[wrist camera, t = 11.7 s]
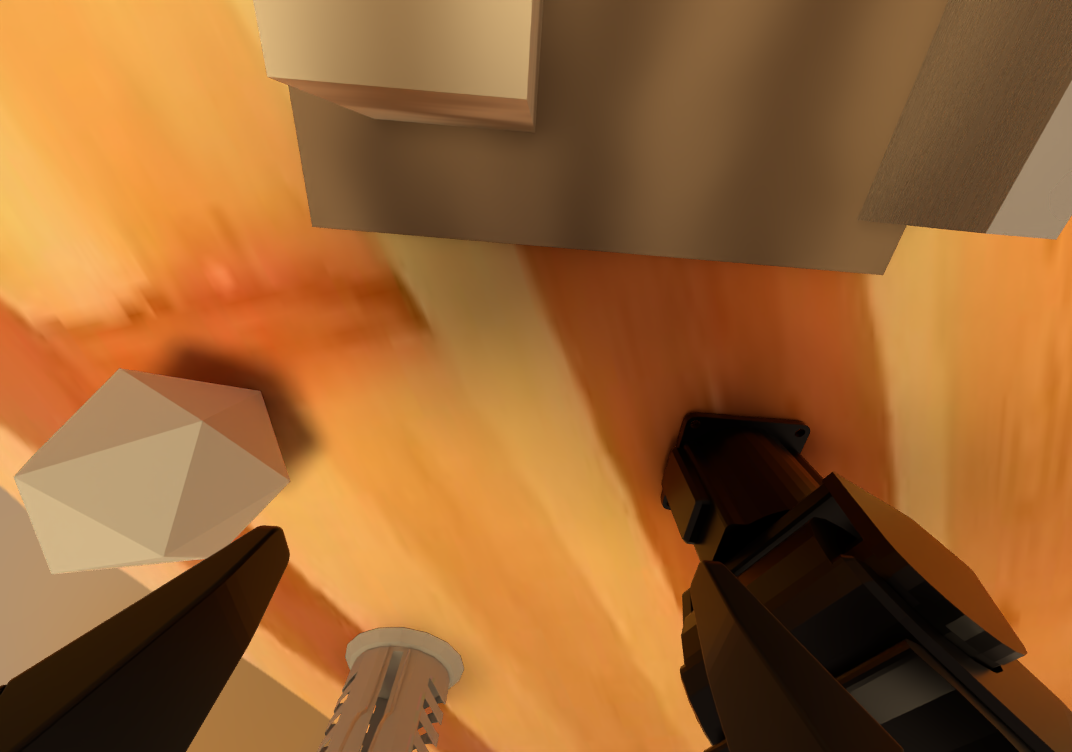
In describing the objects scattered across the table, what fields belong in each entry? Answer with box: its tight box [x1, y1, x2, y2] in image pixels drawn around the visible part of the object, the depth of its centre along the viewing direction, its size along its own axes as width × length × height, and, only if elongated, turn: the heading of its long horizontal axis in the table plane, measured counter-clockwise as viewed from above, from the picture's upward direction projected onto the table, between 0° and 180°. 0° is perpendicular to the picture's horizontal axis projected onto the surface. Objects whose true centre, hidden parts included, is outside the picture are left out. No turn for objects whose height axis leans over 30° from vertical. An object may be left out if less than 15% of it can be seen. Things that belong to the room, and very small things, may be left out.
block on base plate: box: [288, 0, 1072, 275], centre depth 11 cm, size 24×14×6 cm, turn 86°
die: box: [14, 368, 290, 574], centre depth 18 cm, size 8×9×10 cm
